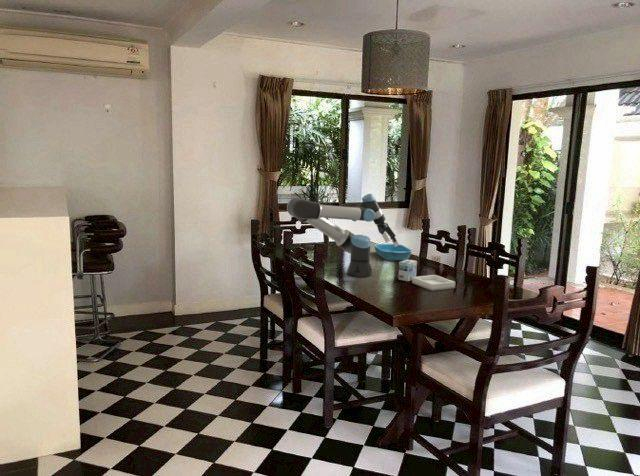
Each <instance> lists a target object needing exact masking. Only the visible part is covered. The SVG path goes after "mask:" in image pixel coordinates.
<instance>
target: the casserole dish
mask: <svg viewBox="0 0 640 476" xmlns="http://www.w3.org/2000/svg"><path fill="white" fill-rule="evenodd" d="M373 247H374V250H375V253H376V255H378V256H379V257H380V258H382V259H384V260H385V261H404V260H407V259H408V260H409V259H410V257H411V254H412V251H413V250H412V249H410V248H409V247H406V246H405V245H403V244H399V245H398V246H396V247H395V246H394V244H393V243H380V244H379V243H377V244H374V245H373Z"/></svg>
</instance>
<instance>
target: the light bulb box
mask: <svg viewBox="0 0 640 476" xmlns="http://www.w3.org/2000/svg"><path fill="white" fill-rule="evenodd" d="M417 266H418V261H417V260H413V259H409V258H408V259H407V260H400V261H399V262H398V281H399V280H400V281H404V282H410V281H412V277H417V268H418V267H417Z"/></svg>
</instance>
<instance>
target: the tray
mask: <svg viewBox="0 0 640 476" xmlns="http://www.w3.org/2000/svg"><path fill="white" fill-rule="evenodd" d="M411 283H412V284H414V285H416V286H418V287H422V288H424V289H426V290H429V291H431V292H432V291H433V292H435V291H440V290H441V291H442V290H451V289H456V281H455V280H450V279H448V278H445V277H443V276H440V275H437V274H429V275H419V276H416V277H412V280H411Z"/></svg>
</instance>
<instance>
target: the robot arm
mask: <svg viewBox="0 0 640 476" xmlns="http://www.w3.org/2000/svg"><path fill="white" fill-rule="evenodd" d="M361 201H362V202H360V203H359V204H357V206H354V207H353V206H341V205H340V206H339V205H330V204H329V205H328V204H327V205H326V204H321V203H320V202H314V201H311V200H307V199H304V198H302V197H293V198H291V199H290V200H289V201H288V202H287V205H286V210H287V213H288V214H289V216H290V217H294V218H295V219H297V220H298V221H299V222H301V223H307V224H309V225H310V226H312V227H313V228H314V229H316V230H318V231H319V232H321V233H322V234H324V235H325V236H327V237H328V238H330V239H332V240H333V242H335V243H336V246H337V247H339V248H340V249H342V251H344V252H346V253H348V254H350V261H349V264H348V267H347V271H346V274H347V275H348V276H350V277H354V278H355V277H356V278H365V277H366V278H367V277H371V276H372V275H373V270H372V268H371V267H372V266H371V263H370V261H371V258H370V257H371V238H370V237H369V236H367V235H363V234H354V233H353V232H351V231H350V230H348V229H345V230H344V229H343V228H341V227H340V226H338V225H336V224H335V223H334V222H333V221H331V220H330V219H332V220H333V219H335V220H348V221H349V220H351V221H353V222H356V221H364V222H373V223H374V224H375V225H376V227H377V229H378V233H379V234H380V235H381V237H382V238H383V240H384V241H385V244H388V243H389V242H390V240H391V242H392V244H394V246H395V247H396V246H398V245H400V244H399V242H398V240H397V238H396V234H395V232H394V231H393V230H392V228H391V227H390V226H389V224H388V222H385V221H386V217H385V215H384V213H383V212H382V208H380V206H379V204H378V202H377V200H376V198H375V196H374V195H373V194H372V193H368V194H365V195H363V196H362V197H361ZM388 236H389V237H390V238H389V237H388Z"/></svg>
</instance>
